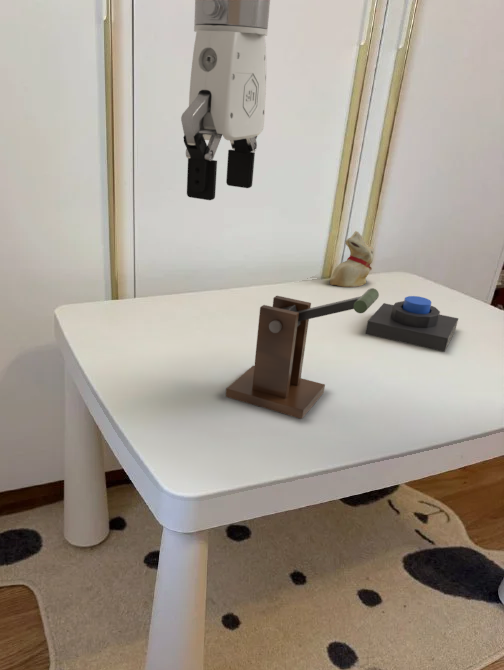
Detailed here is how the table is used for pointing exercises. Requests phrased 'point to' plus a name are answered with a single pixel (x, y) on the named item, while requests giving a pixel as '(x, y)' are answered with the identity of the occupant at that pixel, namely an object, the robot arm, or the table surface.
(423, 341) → the button block
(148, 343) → the table surface
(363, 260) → the chocolate bunny
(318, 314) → the light lever
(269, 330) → the lever bracket
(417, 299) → the blue button
